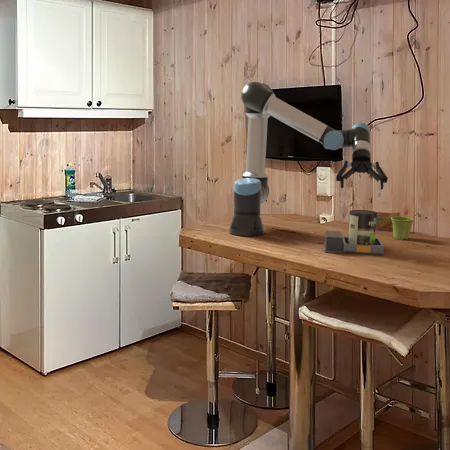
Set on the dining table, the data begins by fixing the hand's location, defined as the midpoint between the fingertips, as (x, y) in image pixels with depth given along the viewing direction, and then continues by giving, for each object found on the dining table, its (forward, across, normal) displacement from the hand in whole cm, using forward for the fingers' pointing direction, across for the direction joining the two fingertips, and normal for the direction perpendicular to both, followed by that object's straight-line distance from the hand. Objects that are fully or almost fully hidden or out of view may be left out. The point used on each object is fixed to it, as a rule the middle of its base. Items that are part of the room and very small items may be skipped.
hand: (361, 194), depth 232 cm
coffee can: (+21, 0, -7) cm, 22 cm away
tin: (-11, -15, -40) cm, 45 cm away
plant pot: (+2, -19, -27) cm, 33 cm away
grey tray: (+22, +3, -7) cm, 23 cm away
